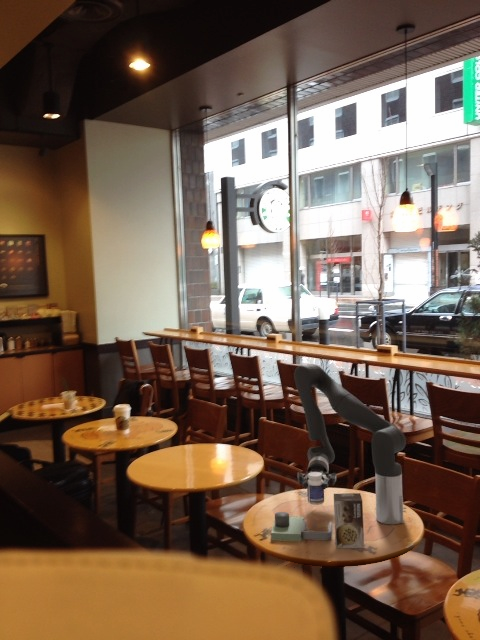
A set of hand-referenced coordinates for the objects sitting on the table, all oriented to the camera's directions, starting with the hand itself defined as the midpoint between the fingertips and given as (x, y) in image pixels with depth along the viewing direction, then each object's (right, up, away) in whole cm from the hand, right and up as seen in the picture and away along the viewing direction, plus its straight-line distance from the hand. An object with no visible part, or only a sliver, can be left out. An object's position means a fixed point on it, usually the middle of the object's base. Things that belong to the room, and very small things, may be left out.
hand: (314, 486), depth 197 cm
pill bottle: (+1, -6, +3) cm, 7 cm away
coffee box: (+11, -18, -5) cm, 21 cm away
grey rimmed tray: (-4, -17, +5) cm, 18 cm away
